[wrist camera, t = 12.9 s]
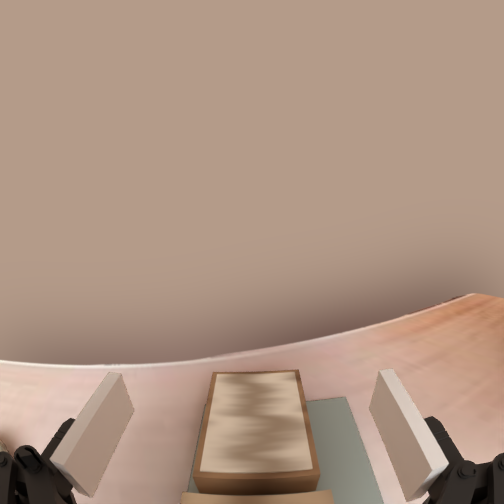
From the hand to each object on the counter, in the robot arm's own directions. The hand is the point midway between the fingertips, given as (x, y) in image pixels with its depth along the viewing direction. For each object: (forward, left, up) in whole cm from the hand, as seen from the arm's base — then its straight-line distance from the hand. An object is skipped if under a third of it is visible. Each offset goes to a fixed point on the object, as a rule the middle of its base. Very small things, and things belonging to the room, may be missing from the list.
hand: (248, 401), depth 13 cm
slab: (0, 0, -10) cm, 10 cm away
